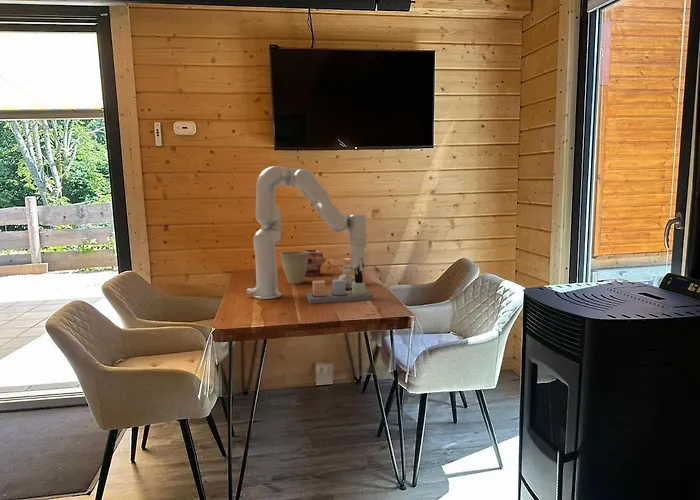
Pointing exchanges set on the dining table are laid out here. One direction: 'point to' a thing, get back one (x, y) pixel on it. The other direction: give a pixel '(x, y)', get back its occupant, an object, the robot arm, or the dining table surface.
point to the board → (338, 297)
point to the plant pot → (294, 265)
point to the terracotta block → (319, 288)
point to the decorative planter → (314, 262)
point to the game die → (347, 279)
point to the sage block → (358, 288)
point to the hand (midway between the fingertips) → (358, 282)
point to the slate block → (339, 287)
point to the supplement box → (348, 268)
